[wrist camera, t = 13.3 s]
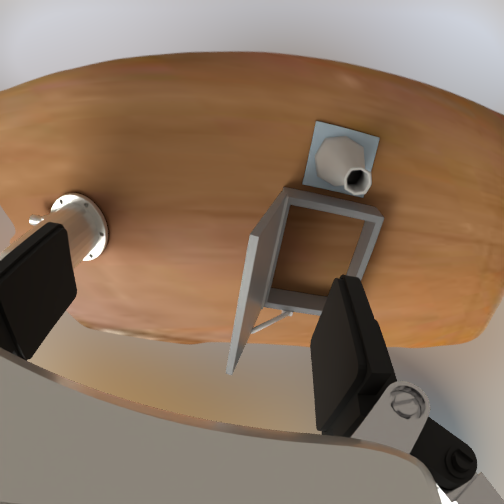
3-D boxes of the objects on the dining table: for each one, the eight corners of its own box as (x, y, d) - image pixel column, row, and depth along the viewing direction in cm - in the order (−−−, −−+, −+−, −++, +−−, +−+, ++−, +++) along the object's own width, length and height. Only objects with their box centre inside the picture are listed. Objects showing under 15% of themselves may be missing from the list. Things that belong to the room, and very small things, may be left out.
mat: (302, 183, 41) (302, 184, 41) (316, 120, 37) (316, 121, 37) (362, 197, 42) (363, 198, 41) (378, 137, 37) (379, 138, 37)
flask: (308, 180, 41) (318, 206, 32) (319, 129, 37) (333, 140, 28) (358, 190, 41) (379, 218, 32) (370, 142, 37) (396, 157, 28)
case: (257, 290, 51) (255, 308, 46) (279, 185, 42) (279, 197, 38) (340, 303, 51) (345, 322, 47) (376, 207, 42) (386, 220, 38)
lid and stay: (238, 302, 48) (225, 375, 35) (258, 185, 39) (249, 235, 26) (291, 311, 48) (293, 385, 36) (324, 197, 39) (346, 253, 26)
